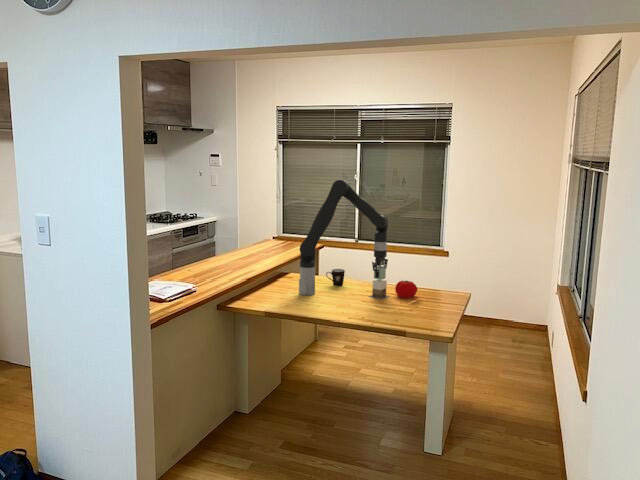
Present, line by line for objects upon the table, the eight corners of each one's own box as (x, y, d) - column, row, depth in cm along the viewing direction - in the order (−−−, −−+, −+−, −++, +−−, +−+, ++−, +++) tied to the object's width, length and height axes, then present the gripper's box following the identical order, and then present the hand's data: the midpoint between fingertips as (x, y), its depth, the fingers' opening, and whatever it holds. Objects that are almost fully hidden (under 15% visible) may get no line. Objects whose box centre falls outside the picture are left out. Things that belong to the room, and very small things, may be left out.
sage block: (380, 279, 316) (381, 270, 315) (373, 278, 319) (374, 268, 318) (385, 278, 320) (385, 268, 319) (378, 277, 323) (378, 267, 322)
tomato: (391, 298, 320) (392, 281, 318) (398, 293, 331) (399, 277, 329) (413, 301, 314) (414, 283, 312) (419, 296, 325) (420, 279, 323)
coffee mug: (347, 284, 352) (347, 269, 351) (340, 287, 345) (340, 272, 344) (331, 282, 358) (332, 267, 357) (325, 284, 351) (325, 270, 350)
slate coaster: (381, 300, 314) (381, 299, 314) (367, 297, 321) (367, 296, 321) (390, 297, 322) (390, 296, 322) (376, 294, 328) (376, 293, 328)
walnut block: (380, 298, 317) (380, 290, 316) (372, 296, 321) (372, 288, 320) (386, 296, 322) (386, 288, 321) (377, 294, 325) (378, 286, 325)
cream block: (380, 290, 316) (381, 281, 315) (372, 288, 320) (372, 280, 319) (386, 288, 321) (386, 280, 320) (378, 286, 325) (378, 278, 324)
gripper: (379, 251, 309) (378, 280, 311) (392, 248, 320) (391, 275, 322) (368, 249, 313) (367, 278, 316) (381, 246, 324) (380, 273, 327)
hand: (379, 276), depth 319 cm, fingers closed on sage block, 4 cm apart
